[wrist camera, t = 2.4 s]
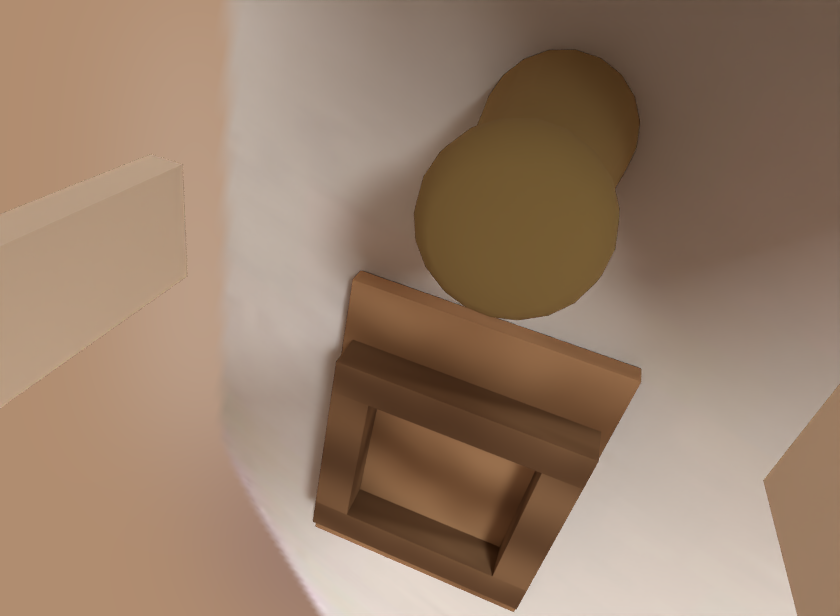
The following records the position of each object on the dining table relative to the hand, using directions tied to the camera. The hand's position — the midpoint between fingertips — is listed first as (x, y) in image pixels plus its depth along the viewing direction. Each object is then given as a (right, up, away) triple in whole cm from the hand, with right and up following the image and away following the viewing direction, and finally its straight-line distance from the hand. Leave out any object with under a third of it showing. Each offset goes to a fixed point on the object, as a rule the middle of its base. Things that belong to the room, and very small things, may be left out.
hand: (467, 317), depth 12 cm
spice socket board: (+1, -8, +22) cm, 23 cm away
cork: (+4, +7, +11) cm, 14 cm away
